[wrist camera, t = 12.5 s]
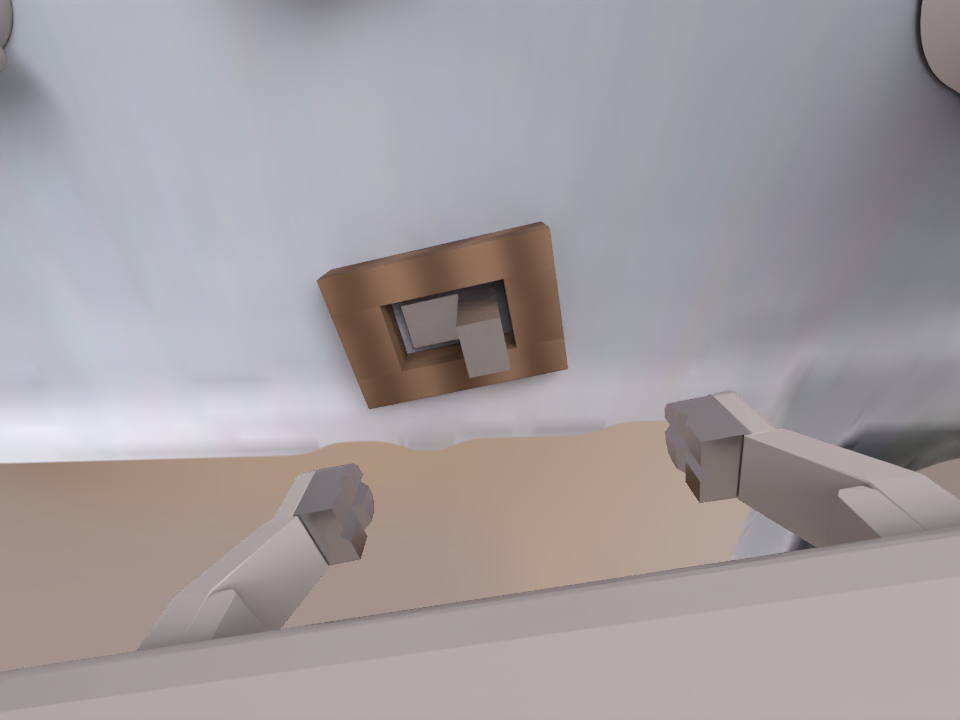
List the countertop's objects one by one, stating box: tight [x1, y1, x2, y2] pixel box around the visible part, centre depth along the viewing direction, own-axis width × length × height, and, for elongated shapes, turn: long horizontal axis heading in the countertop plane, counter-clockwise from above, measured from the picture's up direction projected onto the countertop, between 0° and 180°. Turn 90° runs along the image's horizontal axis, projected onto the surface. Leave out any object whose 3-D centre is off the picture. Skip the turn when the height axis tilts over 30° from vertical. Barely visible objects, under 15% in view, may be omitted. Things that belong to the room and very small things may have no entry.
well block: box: [317, 222, 568, 409], centre depth 34 cm, size 18×12×4 cm, turn 102°
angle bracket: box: [401, 282, 511, 378], centre depth 31 cm, size 8×4×9 cm, turn 102°
